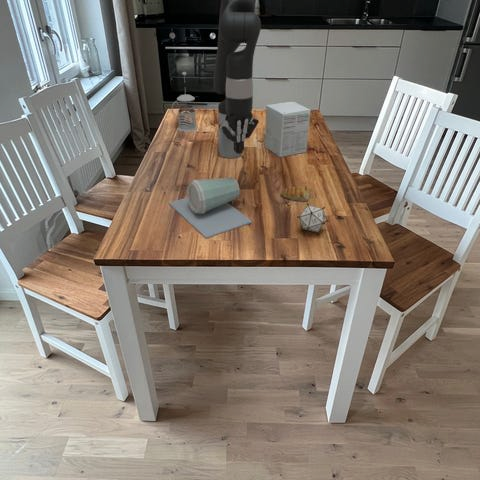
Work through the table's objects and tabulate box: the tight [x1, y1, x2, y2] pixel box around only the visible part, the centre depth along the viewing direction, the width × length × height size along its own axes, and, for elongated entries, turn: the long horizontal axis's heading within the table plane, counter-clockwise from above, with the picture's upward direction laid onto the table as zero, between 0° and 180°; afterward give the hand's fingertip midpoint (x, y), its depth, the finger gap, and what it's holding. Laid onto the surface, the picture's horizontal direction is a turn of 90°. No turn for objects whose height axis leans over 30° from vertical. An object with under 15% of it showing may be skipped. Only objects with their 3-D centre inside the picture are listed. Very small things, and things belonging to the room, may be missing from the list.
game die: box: [296, 202, 329, 236], centre depth 119 cm, size 9×8×10 cm
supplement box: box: [264, 101, 312, 158], centre depth 168 cm, size 13×13×18 cm
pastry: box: [280, 185, 310, 202], centre depth 138 cm, size 9×7×4 cm
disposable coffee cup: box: [186, 177, 241, 214], centre depth 128 cm, size 11×11×15 cm
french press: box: [171, 71, 199, 133], centre depth 186 cm, size 10×12×25 cm
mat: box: [168, 196, 253, 239], centre depth 129 cm, size 24×16×1 cm, turn 34°
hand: (238, 152), depth 125 cm, fingers closed
